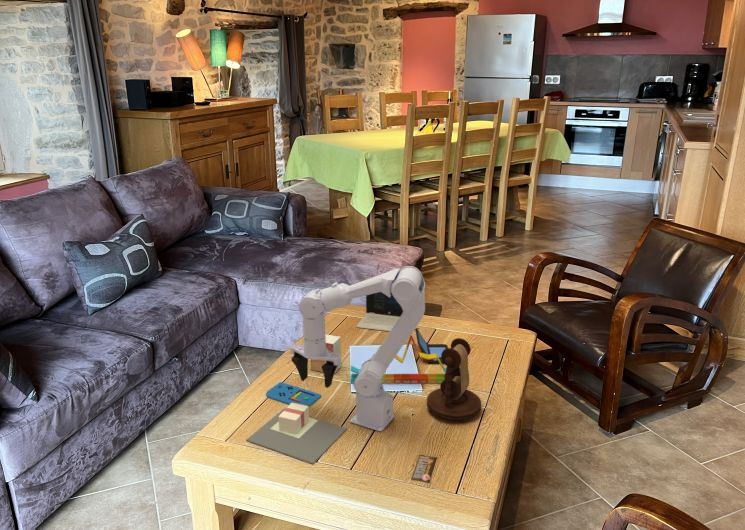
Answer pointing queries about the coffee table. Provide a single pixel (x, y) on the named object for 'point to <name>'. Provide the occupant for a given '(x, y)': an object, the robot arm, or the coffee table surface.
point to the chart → (408, 377)
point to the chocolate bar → (424, 469)
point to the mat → (298, 438)
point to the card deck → (293, 418)
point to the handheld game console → (430, 348)
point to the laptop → (380, 312)
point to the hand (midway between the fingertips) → (316, 382)
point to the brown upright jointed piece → (455, 386)
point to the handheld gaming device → (292, 394)
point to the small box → (333, 346)
